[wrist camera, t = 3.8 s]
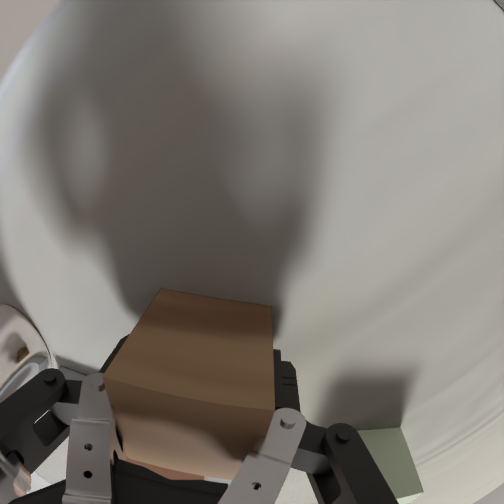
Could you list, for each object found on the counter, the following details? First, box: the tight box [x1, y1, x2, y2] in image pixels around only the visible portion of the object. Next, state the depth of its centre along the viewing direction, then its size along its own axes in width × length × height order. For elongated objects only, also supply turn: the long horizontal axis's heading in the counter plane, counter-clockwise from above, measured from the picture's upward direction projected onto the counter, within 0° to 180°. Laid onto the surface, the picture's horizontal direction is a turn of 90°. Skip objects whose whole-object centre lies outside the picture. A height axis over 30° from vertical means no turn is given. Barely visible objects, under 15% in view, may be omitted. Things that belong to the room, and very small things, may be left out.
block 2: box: [357, 427, 424, 504], centre depth 14 cm, size 5×5×6 cm
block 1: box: [103, 289, 275, 480], centre depth 11 cm, size 5×5×6 cm
